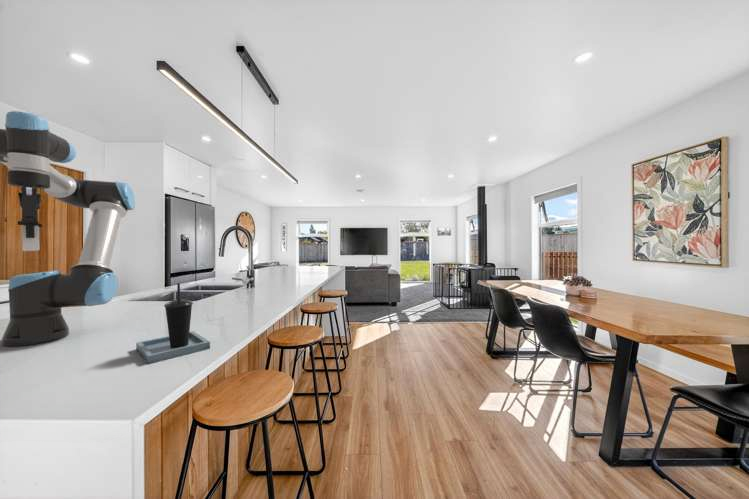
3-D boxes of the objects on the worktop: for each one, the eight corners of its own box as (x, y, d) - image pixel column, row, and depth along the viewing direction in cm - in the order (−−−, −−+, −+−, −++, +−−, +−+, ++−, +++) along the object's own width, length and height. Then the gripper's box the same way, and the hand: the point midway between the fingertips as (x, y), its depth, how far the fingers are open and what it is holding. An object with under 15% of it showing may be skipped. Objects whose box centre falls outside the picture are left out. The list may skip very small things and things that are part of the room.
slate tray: (136, 349, 92) (136, 342, 92) (193, 337, 104) (193, 331, 104) (148, 364, 82) (147, 356, 82) (210, 348, 94) (209, 341, 94)
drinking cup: (180, 350, 90) (179, 286, 89) (158, 348, 91) (157, 285, 90) (199, 342, 97) (198, 282, 96) (179, 340, 98) (178, 281, 98)
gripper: (11, 176, 85) (13, 249, 86) (2, 161, 69) (5, 251, 69) (49, 180, 91) (51, 248, 91) (50, 167, 74) (52, 251, 75)
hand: (31, 250), depth 80 cm, fingers open, 13 cm apart
